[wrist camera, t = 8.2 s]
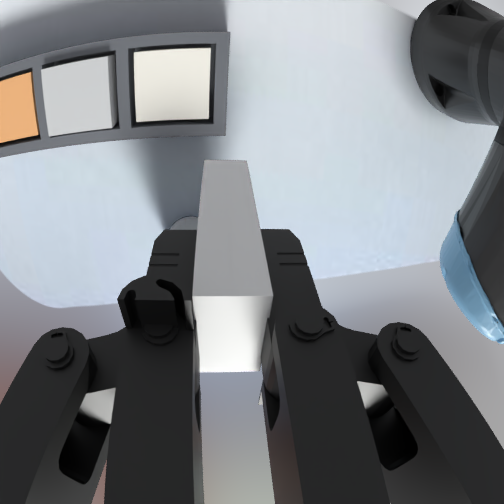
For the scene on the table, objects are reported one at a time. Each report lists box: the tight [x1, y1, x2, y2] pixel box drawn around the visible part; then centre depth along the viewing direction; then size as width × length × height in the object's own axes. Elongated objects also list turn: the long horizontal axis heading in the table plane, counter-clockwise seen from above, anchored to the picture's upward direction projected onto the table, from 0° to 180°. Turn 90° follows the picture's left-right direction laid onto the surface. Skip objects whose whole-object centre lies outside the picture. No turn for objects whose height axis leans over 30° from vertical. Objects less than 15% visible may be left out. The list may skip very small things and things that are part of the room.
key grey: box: [41, 55, 118, 136], centre depth 21 cm, size 6×6×2 cm
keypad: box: [0, 32, 230, 158], centre depth 23 cm, size 24×9×4 cm, turn 86°
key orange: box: [0, 71, 40, 143], centre depth 21 cm, size 6×6×2 cm
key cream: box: [134, 47, 211, 122], centre depth 23 cm, size 6×6×2 cm
